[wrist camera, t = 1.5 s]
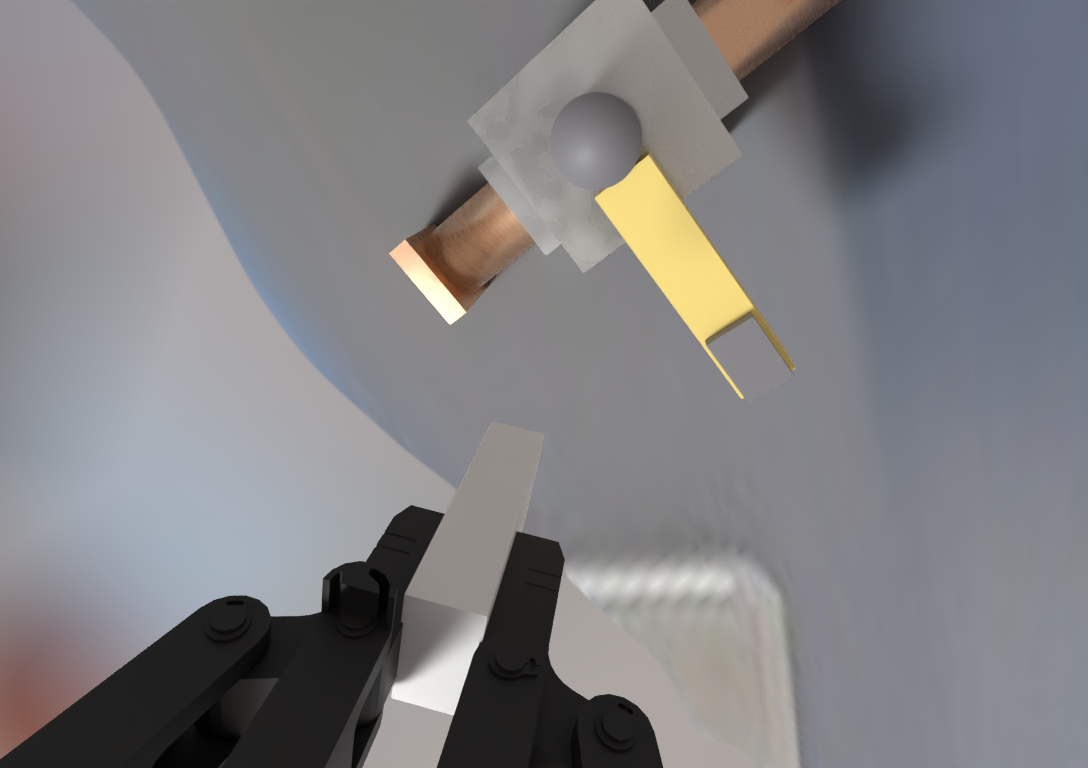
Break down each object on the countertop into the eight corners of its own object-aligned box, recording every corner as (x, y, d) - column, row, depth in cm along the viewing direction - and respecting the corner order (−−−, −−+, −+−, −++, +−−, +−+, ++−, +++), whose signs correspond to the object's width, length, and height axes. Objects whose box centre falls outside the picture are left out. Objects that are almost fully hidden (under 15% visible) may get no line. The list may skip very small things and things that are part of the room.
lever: (546, 131, 25) (530, 135, 21) (610, 75, 23) (604, 69, 20) (724, 373, 28) (734, 410, 24) (788, 334, 27) (809, 368, 23)
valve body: (401, 213, 35) (339, 241, 28) (827, -176, 26) (897, -286, 19) (489, 319, 37) (452, 370, 30) (916, -6, 28) (1012, -46, 20)
